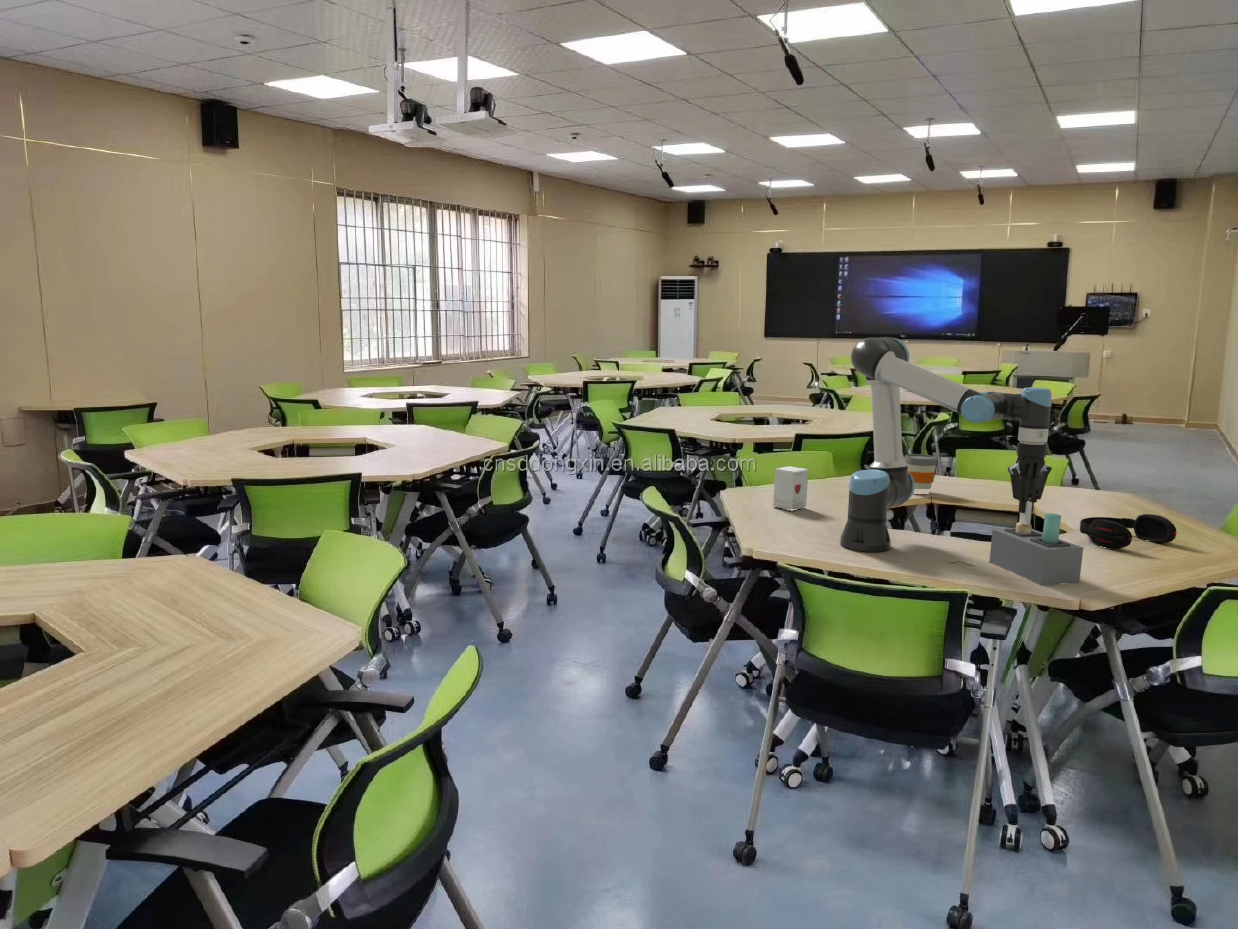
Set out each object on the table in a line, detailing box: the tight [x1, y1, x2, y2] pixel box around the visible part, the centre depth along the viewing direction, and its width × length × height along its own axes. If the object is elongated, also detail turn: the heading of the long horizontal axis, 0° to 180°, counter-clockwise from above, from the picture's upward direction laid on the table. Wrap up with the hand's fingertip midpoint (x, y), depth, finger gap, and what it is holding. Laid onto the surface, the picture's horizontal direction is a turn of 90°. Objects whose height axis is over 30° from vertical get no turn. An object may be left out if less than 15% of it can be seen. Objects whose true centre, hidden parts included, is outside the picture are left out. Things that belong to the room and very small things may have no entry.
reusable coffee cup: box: [904, 453, 938, 489], centre depth 346 cm, size 13×13×15 cm
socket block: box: [988, 527, 1084, 586], centre depth 240 cm, size 22×12×10 cm, turn 13°
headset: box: [1079, 513, 1177, 550], centre depth 273 cm, size 28×26×9 cm
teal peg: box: [1042, 512, 1062, 544], centre depth 233 cm, size 4×4×10 cm
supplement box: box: [772, 466, 809, 509], centre depth 315 cm, size 9×9×15 cm
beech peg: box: [1015, 522, 1033, 534], centre depth 245 cm, size 4×4×10 cm
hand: (1024, 523), depth 244 cm, fingers closed
